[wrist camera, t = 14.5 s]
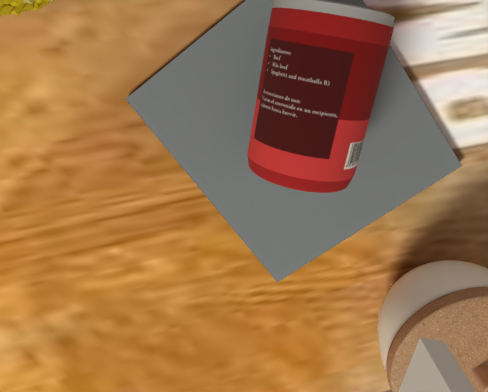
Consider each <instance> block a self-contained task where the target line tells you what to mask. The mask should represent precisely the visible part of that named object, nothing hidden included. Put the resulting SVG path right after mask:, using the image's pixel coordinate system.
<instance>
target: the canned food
mask: <svg viewBox="0 0 488 392" xmlns="http://www.w3.org/2000/svg"><path fill="white" fill-rule="evenodd" d="M394 20H395V18H394V17H393V16H392V15H390V14H388V13H385V12H382V11H378V10H374V9H370V8H365V7H361V6H356V5H351V4H345V3H339V2H333V1H326V0H274V4H273V7H272V10H271V16H270V22H269V26H268V32H267V38H266V44H265V50H264V56H263V62H262V68H261V74H260V80H259V86H258V93H257V99H256V105H255V111H254V117H253V123H252V129H251V135H250V141H249V147H248V154H247V155H248V164H249V167H250V169H251V170H252V171H253V172H254V173H255V174H256V175H257V176H259V177H260V178H262V179H264V180H266V181H268V182H271V183H274V184H276V185H279V186H283V187H286V188H290V189H295V190H300V191H306V192H315V193H331V192H337V191H341V190H343V189H345V188H347V186H348V185H349V183H350V182H351V180H352V178H353V177H354V175H355V171H356V168H357V164H358V160H359V157H360V153H361V149H362V145H363V142H364V138H365V134H366V131H367V127H368V123H369V119H370V116H371V112H372V108H373V105H374V101H375V97H376V93H377V90H378V86H379V82H380V78H381V75H382V71H383V67H384V64H385V60H386V56H387V52H388V49H389V44H390V40H391V36H392V32H393V28H394Z"/></svg>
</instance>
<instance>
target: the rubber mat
mask: <svg viewBox="0 0 488 392" xmlns="http://www.w3.org/2000/svg"><path fill="white" fill-rule="evenodd" d="M326 1H333V2H339V3H345V4H351V5H356V6H361V7H365V8H367V7H366V5H365V4H364V2H363V0H326ZM273 4H274V0H246V1H244V2H243V3H242V4H241V5H240V6H238V7H237V8H236V9H235V10H233V11H232V12H231V13H230V14H229V15H227V16H226V17H225V18H224V19H222V20H221V21H220V22H219V23H218V24H216V25H215V26H214V27H213V28H212V29H210V30H209V31H208V32H207V33H205V34H204V35H203V36H202V37H201V38H199V39H198V40H197V41H196V42H194V43H193V44H192V45H191V46H190V47H188V48H187V49H186V50H185V51H183V52H182V53H181V54H180V55H179V56H177V57H176V58H175V59H174V60H172V61H171V62H170V63H169V64H168V65H166V66H165V67H164V68H163V69H162V70H160V71H159V72H158V73H157V74H155V75H154V76H153V77H152V78H151V79H149V80H148V81H147V82H146V83H144V84H143V85H142V86H141V87H140V88H138V89H137V90H136V91H135V92H133V93H132V94H131V95H130V96H129V97H127V98H126V100H127V101H128V102H129V104H130V105H131V106H132V107H133V109H134V110H135V111H136V112H137V113H138V115H139V116H140V117H141V118H142V119H143V121H144V122H145V123H146V124H147V125H148V127H149V128H150V129H151V130H152V131H153V133H154V134H155V135H156V136H157V137H158V139H159V140H160V141H161V142H162V144H163V145H164V146H165V147H166V148H167V150H168V151H169V152H170V153H171V154H172V156H173V157H174V158H175V159H176V160H177V162H178V163H179V164H180V165H181V166H182V168H183V169H184V170H185V171H186V172H187V174H188V175H189V176H190V177H191V178H192V180H193V181H194V182H195V183H196V185H197V186H198V187H199V188H200V189H201V191H202V192H203V193H204V194H205V195H206V197H207V198H208V199H209V200H210V201H211V203H212V204H213V205H214V206H215V207H216V209H217V210H218V211H219V212H220V213H221V215H222V216H223V217H224V218H225V220H226V221H227V222H228V223H229V224H230V226H231V227H232V228H233V229H234V230H235V232H236V233H237V234H238V235H239V236H240V238H241V239H242V240H243V241H244V242H245V244H246V245H247V246H248V247H249V248H250V250H251V251H252V252H253V253H254V254H255V256H256V257H257V258H258V259H259V261H260V262H261V263H262V264H263V265H264V267H265V268H266V269H267V270H268V271H269V273H270V274H271V275H272V276H273V277H274V279H275V280H276V281H277V282H279V281H280V280H282V279H283V278H285V277H286V276H288V275H290V274H291V273H293V272H294V271H296V270H298V269H299V268H301V267H302V266H304V265H305V264H307V263H309V262H310V261H312V260H313V259H315V258H317V257H318V256H320V255H321V254H323V253H324V252H326V251H328V250H329V249H331V248H332V247H334V246H336V245H337V244H339V243H340V242H342V241H343V240H345V239H347V238H348V237H350V236H351V235H353V234H355V233H356V232H358V231H359V230H361V229H363V228H364V227H366V226H367V225H369V224H370V223H372V222H374V221H375V220H377V219H378V218H380V217H382V216H383V215H385V214H386V213H388V212H389V211H391V210H393V209H394V208H396V207H397V206H399V205H401V204H402V203H404V202H405V201H407V200H408V199H410V198H412V197H413V196H415V195H416V194H418V193H420V192H421V191H423V190H424V189H426V188H427V187H429V186H431V185H432V184H434V183H435V182H437V181H439V180H440V179H442V178H443V177H445V176H446V175H448V174H450V173H451V172H453V171H454V170H456V169H458V168H459V167H461V166H462V165H461V164H460V162H459V160H458V159H457V157H456V155H455V154H454V152H453V150H452V149H451V147H450V145H449V144H448V142H447V140H446V139H445V137H444V135H443V134H442V132H441V130H440V129H439V127H438V125H437V124H436V122H435V120H434V119H433V117H432V115H431V114H430V112H429V110H428V109H427V107H426V105H425V104H424V102H423V100H422V99H421V97H420V95H419V94H418V92H417V90H416V89H415V87H414V85H413V84H412V82H411V80H410V79H409V77H408V75H407V74H406V72H405V70H404V69H403V67H402V65H401V64H400V62H399V60H398V59H397V57H396V55H395V54H394V52H393V50H392V49H391V47H390V45H389V49H388V52H387V56H386V60H385V64H384V67H383V71H382V75H381V78H380V82H379V86H378V90H377V93H376V97H375V101H374V105H373V108H372V112H371V116H370V119H369V123H368V127H367V131H366V134H365V138H364V142H363V145H362V149H361V153H360V157H359V160H358V164H357V168H356V171H355V175H354V177H353V178H352V180H351V182H350V183H349V185H348V186H347V188H345V189H343V190H341V191H337V192H331V193H315V192H306V191H300V190H295V189H290V188H286V187H283V186H279V185H276V184H274V183H271V182H268V181H266V180H264V179H262V178H260V177H259V176H257V175H256V174H255V173H254V172H253V171H252V170H251V169H250V167H249V164H248V155H247V154H248V147H249V141H250V135H251V129H252V123H253V117H254V111H255V105H256V99H257V93H258V86H259V80H260V74H261V68H262V62H263V56H264V50H265V44H266V38H267V32H268V26H269V22H270V16H271V10H272V7H273Z"/></svg>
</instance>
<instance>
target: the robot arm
mask: <svg viewBox="0 0 488 392" xmlns="http://www.w3.org/2000/svg"><path fill="white" fill-rule="evenodd" d="M399 392H476V390H475V389H474V387H473V386H472V384H471V382H470V381H469V379H468V378H467V376H466V375H465V373H464V372H463V370H462V369H461V367H460V366H459V364H458V362H457V361H456V359H455V358H454V356H453V355H452V353H451V352H450V350H449V349H448V347H447V346H446V344H445V343H444V341H439V340H432V339H425V338H419V341H418V343H417V346H416V349H415V351H414V354H413V356H412V359H411V361H410V364H409V366H408V369H407V371H406V374H405V376H404V379H403V382H402V384H401V387H400V389H399Z"/></svg>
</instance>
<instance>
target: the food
mask: <svg viewBox="0 0 488 392" xmlns="http://www.w3.org/2000/svg"><path fill="white" fill-rule="evenodd" d="M49 1H50V0H0V16H1V15H9V14H10V13H12V14H15V15H19V14H20V12H23V11H28V10H38V9H40V8H41V7H43V6H45V5H46V4H48V3H49ZM51 1H53V0H51Z"/></svg>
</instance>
